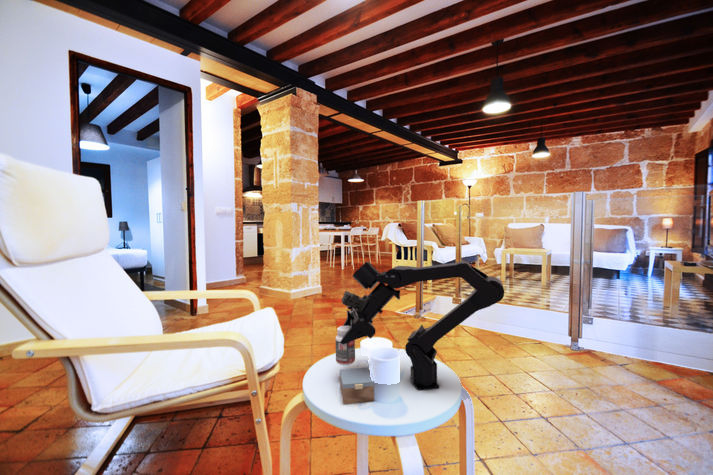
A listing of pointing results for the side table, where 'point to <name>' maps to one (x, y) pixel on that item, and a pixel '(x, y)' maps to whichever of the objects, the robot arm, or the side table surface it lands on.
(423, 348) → the robot arm
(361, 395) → the walnut box
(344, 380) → the box lid
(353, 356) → the pill bottle
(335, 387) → the side table surface
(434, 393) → the side table surface
